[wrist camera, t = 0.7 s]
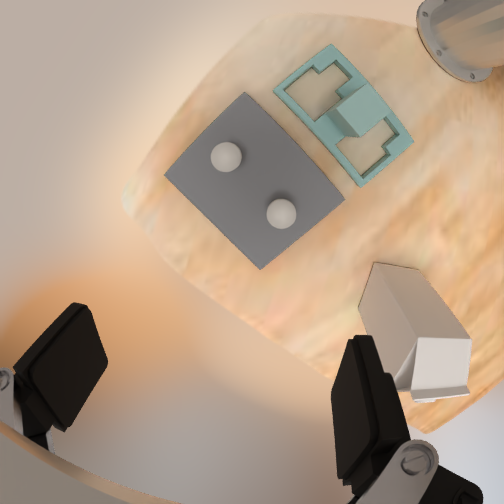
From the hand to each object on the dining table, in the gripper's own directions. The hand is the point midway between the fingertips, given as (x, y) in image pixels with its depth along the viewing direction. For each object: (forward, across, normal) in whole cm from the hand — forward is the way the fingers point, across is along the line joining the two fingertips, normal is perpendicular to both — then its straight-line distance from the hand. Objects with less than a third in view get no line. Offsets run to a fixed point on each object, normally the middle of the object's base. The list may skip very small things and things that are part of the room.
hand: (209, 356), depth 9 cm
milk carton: (+25, -18, +11) cm, 33 cm away
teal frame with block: (+25, -9, -10) cm, 28 cm away
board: (+25, +1, -1) cm, 25 cm away
